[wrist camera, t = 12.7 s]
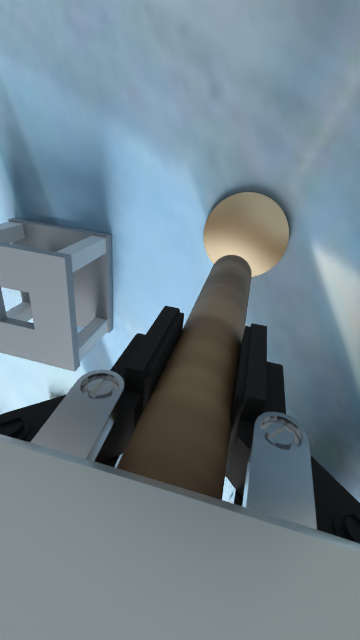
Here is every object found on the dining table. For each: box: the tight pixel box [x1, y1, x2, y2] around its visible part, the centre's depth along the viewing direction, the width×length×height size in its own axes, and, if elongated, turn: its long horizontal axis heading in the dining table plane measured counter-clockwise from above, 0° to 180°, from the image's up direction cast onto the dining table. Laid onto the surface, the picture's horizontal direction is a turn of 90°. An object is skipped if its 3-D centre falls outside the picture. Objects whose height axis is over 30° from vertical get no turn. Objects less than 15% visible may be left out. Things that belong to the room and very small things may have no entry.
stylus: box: [116, 255, 252, 500], centre depth 12 cm, size 2×2×16 cm
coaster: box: [203, 192, 289, 277], centre depth 30 cm, size 8×8×1 cm
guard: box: [0, 218, 113, 371], centre depth 33 cm, size 12×12×9 cm
